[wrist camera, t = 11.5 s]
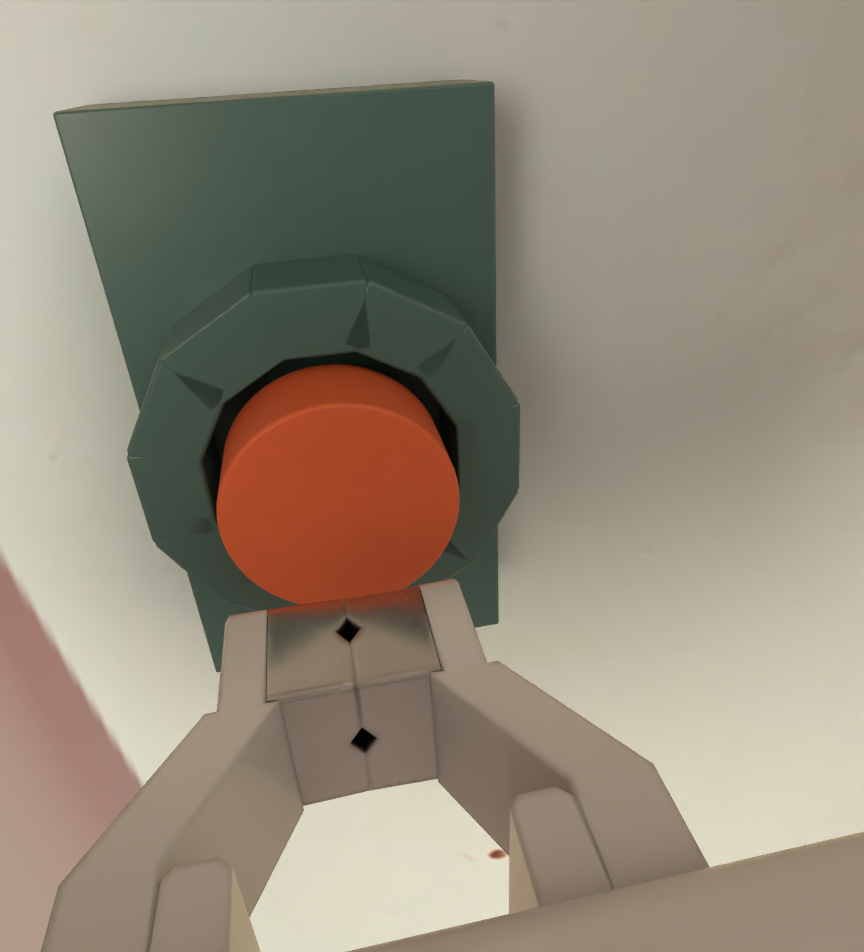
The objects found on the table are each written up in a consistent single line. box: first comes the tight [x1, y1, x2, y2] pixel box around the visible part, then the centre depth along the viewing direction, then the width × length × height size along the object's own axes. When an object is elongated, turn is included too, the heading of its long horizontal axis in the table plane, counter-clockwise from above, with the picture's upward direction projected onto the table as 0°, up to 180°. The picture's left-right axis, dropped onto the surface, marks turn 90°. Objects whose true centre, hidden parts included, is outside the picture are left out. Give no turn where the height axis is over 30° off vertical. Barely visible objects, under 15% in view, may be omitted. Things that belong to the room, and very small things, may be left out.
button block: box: [53, 80, 520, 672], centre depth 14 cm, size 12×7×4 cm, turn 3°
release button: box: [216, 364, 460, 605], centre depth 12 cm, size 4×4×2 cm
